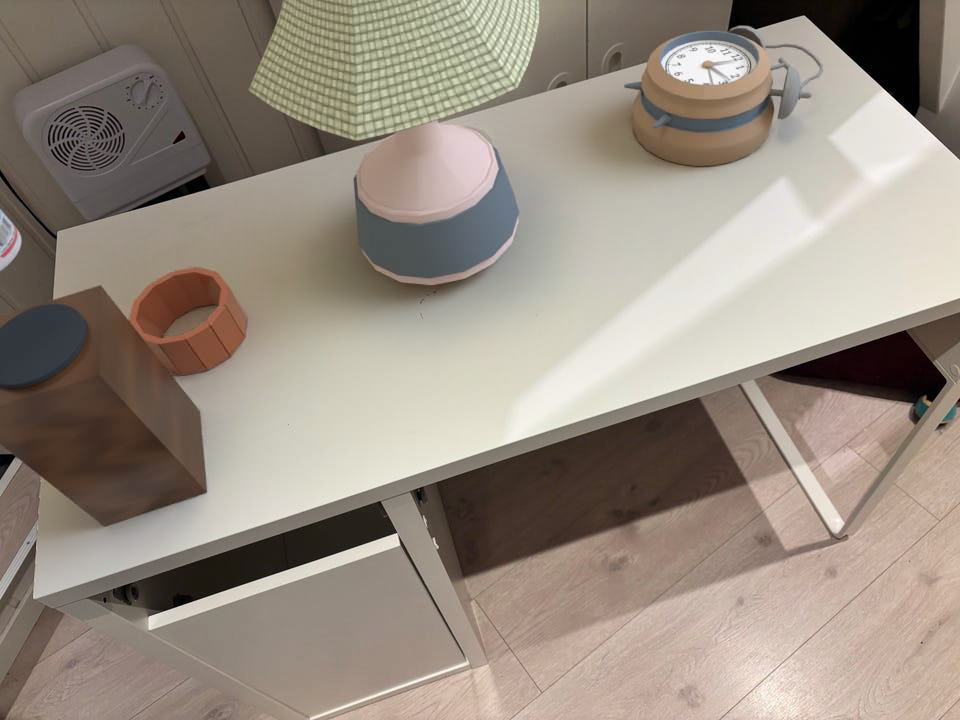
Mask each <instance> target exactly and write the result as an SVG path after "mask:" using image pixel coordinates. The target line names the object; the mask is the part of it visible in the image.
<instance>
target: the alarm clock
mask: <svg viewBox="0 0 960 720" xmlns="http://www.w3.org/2000/svg"><path fill="white" fill-rule="evenodd" d="M780 48H792V49H793V48H794V49H797V50H800V51H802V52H803V53H805V54H807V56H809V57H810V58H812V59H813V61H814V62H815V63H816V64H817V66H818V68H819V71H818V72H817V73H816V74H814V75H812V76H810V77H808V78H807V79H805V80H804V81H803V82H802V83H801V76H800V73H799V71H798V69H797V68H795V67H793V66H792V65H791V64H790V63H789V62H788V61H787V60H786V59H785V58H783V57H779V58H778V64H774V65H772V64H771V58H770V55H768V53H767V51H766V49H780ZM646 63H647V65H646V67H645V69H644V72H643V74H642V76H641V81H635V82H630V83H624V84H623V88H624V89H630V90H636V91H638V92H637V95H636V96H635V99H634V102H633V104H632V105H633V106H632V131H633V133H634V136H635V138H636V140H637V142H638V143H639V144H640V145H641V146H642V147H643V148H644V149H645V150H646V151H647V152H649V153H651V154H652V155H655V156H656V157H657V158H660V159H662V160H665V161H667V162H671V163H674V164H679V165H685V166H692V167H702V166H703V167H707V166H708V167H709V166H717V165H723V164H729V163H732V162H735V161H738V160H740V159H743V158H745V157H748V156H749V155H750V154H752V153H754V152H755V151H757V150H758V149H759V148H760V147H761V146H762V145H763V144H764V142H766V140H767V139H768V137H769V134H770V131H771V128H772V123H773V119H774V114H775V103H774V99H773V98H774V97H781V98H780V103H779V109H778V114H777V119H778V120H785V119H787V118H788V117H790V115H792V113H793V112H794V110H795V108H796V106H797V103H798V101H800V100H801V99H810V98H812V97H813V93H812V92H811V91H802V90H803V88H804V87H805V86H806V85H808V83H810V82H811V81H813V80H817V79H818V78H819V77H820V76H821V75H822V74H823V72H824V64H823V63H822V61H821V60H820V59H819V57H818V56H817V55H816V54H815V53H813V52H812V51H811V50H810V49H808V48H806V47H805V46H803V45H801V44H797V43H787V42H785V43H778V44H766V41H765V39H764V37H763V35H762V34H761V33H760V32H759V31H758V30H757V29H755V28H753V27H752V26H750V25H737V26H735V27H732V28H730V29H729V30H728V31H723V30H722V31H721V30H699V31H694V32H693V31H692V32H689V33H685V34H680V35H679V36H675V37H673V38H670V39H668V40H666V41H665V42H663V43H662V44H660V45H658V46H657V47H656V49H654V50H653V51H652V52H651V53H650V55H649V57H648V60H647V62H646ZM783 68H784V69H785V70H786V75H785V79H784V84H783V87H782V89H776V88H775V89H774V88H773V84H774V81H773V80H774V79H773V74H772V71H774V70H778V69H783Z"/></svg>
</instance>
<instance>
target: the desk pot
mask: <svg viewBox="0 0 960 720" xmlns="http://www.w3.org/2000/svg"><path fill="white" fill-rule="evenodd" d="M214 305H216V306H217V307H216V308H215V309H214V310H213V311H212V313H211V314H210V315H209V316H208V318H207V319H206V321H205V322H203V323H201V324H200V325H198V326H196V327H194V328H193V329H191V330H189V331H188V332H186V333H184V334H179V335H173V336H167V337H163V336H164V334H165V333H166V331H168V329H169V328H170V326H172V324H173V323H174V322H175V320H176V319H178V318H180V317H181V316H183V315H185V314H187V313H188V312H190V311H192V310H193V309H196V308H201V307H207V306H214ZM128 320H129V322H130V323H131V324H132V325H133V327H134V328H135V329H136V330H137V332H138V333H139V334H140V336H141V337H142V338H143V339H144V341H145V342H146V343H147V344H148V346H149V347H150V348H151V350H152V351H153V352H154V353H155V355H156V356H157V357H158V358H159V360H160V361H161V362H162V364H163V365H164V366H165V367H166V369H167V370H168V371H169V372H170V373H174V374H178V375H181V376H185V375H193V374H197V373H204V372H208V371H210V370H212V369H214V368H215V367H216V366H218V365H220V364H221V363H223V362H225V361H227V360H228V359H230V358H231V357H232V356H233V355H234V354H235V352H236V351H237V349H238V348H239V347H240V345H241V344H242V342H243V341H244V340H245V338H246V336H247V335H246V334H247V326H248V325H247V324H248V318H247V315H246V313H245V312H244V310H243V309H242V307H241V305H240V304H239V302H238V300H237V298H236V296H235V295H234V293H233V292H232V289H230V287H229V285H228V283H227V282H226V281H225V280H224V278H223V276H221V273H219V272H218V271H216V270H212V269H209V268H204V267H201V266H193V267H187V268H182V269H177V270H174V271H170V272H169V273H167V274H164V275H163V276H161V277H160V278H157V279H156V280H154V281H152V282H150V284H148V285H147V286H146V287H145V288H144V289H143V290H142V292H141V293H140V294H139V295H138V296H137V297H136V299H134V301H133V303H132V306H131V310H130V315H129V319H128Z"/></svg>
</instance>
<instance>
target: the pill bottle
mask: <svg viewBox="0 0 960 720" xmlns="http://www.w3.org/2000/svg"><path fill="white" fill-rule="evenodd" d="M21 247H22V235H21V233H20V231H19V230H18V228H17V227H16V226H15V224H14V223H13V222H12V221H11V220H10V218H9V217H8V216H7V215H6V214H5V212H4V211H3V210H2V209H1V208H0V272H2V271H3V270H4V269H5V268H7V267H8V266H9V265H10V264H11V263H12V262H13V260H15V258H16V257H17V255H18V254H19V251H20V249H21Z"/></svg>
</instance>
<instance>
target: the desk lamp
mask: <svg viewBox="0 0 960 720" xmlns="http://www.w3.org/2000/svg"><path fill="white" fill-rule="evenodd" d="M539 23H540V0H282V4H281V9H280V13H279V15H278V18H277V21H276V24H275V27H274V29H273V32H272V35H271V37H270V39H269V40H268V41H269V42H268V44H267V46H266V49H265V51H264V53H263V55H262V58H261V60H260V62H259V65H258V66H257V67H258V68H257V70H256V72H255V75H254V77H253V78H252V81H251V82H250V83H251V84H250V86H249V87H248V91H249V92H250V93H252V94H253V95H255V96H256V97H258V98H259V99H260V100H261V101H263V102H265V103H266V104H268V106H271V107H272V108H274V109H275V110H278V111H279V112H281V113H283V114H284V115H287V116H289V117H290V118H293V119H295V120H296V121H299V122H302V123H304V124H306V125H309V126H311V127H314V128H316V129H318V130H319V131H320V130H321V131H324V132H327V133H330V134H333V135H336V136H340V137H342V138H345V139H350V140H352V141H355V142H360V141H365V140H369V139H372V138H378V137H382V136H387V135H389V136H387V137H384V138H383V139H381V140H380V141H379V142H378V143H377V144H375V145H374V146H373V147H372V148H371V149H369V151H368V152H366V153H365V154H364V156H363V158H362V160H361V162H360V163H359V166H358V167H357V170H356V172H355V175H354V177H353V191H354V204H355V217H356V231H357V243H358V244H357V245H358V246H359V247H360V249H361V252H362V254H363V256H364V257H366V259H367V260H368V262H369V263H370V264H371V266H372V267H373V268H374V270H375V271H377V272H379V273H382V274H383V275H385V276H387V277H389V278H391V279H393V280H395V281H398V282H400V283H406V284H414V285H415V284H416V285H425V286H435V285H436V286H437V285H439V284H445V283H450V282H454V281H461V280H464V279H465V280H466V279H467V278H469V277H471V276H473V275H476V273H478V272H480V271H482V270H484V269H486V268H488V267H489V266H491V265H494V264H495V263H496V261H497V260H498V259H499V258H500V257H501V256H502V255H503V254H504V253H505V252H506V250H508V248H510V246H511V245H512V244H513V242H514V238H515V235H516V232H517V230H518V229H517V228H518V225H519V222H520V219H519V215H520V210H519V205H518V203H517V200H516V196H515V192H514V189H513V187H512V184H511V182H510V179H509V177H508V175H507V172H506V169H505V167H504V164H503V161H502V159H501V156H500V153H499V151H498V149H497V148H496V147H495V146H493V144H491V143H490V142H489V141H488V139H486V138H485V137H484V136H483V135H481V134H480V133H479V132H478V131H476V130H473V129H471V128H468V127H464V126H462V125H459V124H456V123H453V124H452V123H451V124H450V123H439V120H442V119H445V118H448V117H450V116H453V115H457V114H460V113H463V112H465V111H468V110H471V109H475V108H477V107H480V106H482V105H484V104H486V103H489V102H491V101H492V100H495V99H497V98H500V97H502V96H505V95H506V94H509V93H511V92H514V91H515V90H516V89H517V88H518V87H519V86H520V83H521V81H522V79H523V76H524V74H525V73H526V70H527V68H528V66H529V63H530V60H531V56H532V53H533V50H534V47H535V43H536V38H537V34H538V28H539ZM390 134H391V135H390Z"/></svg>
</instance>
